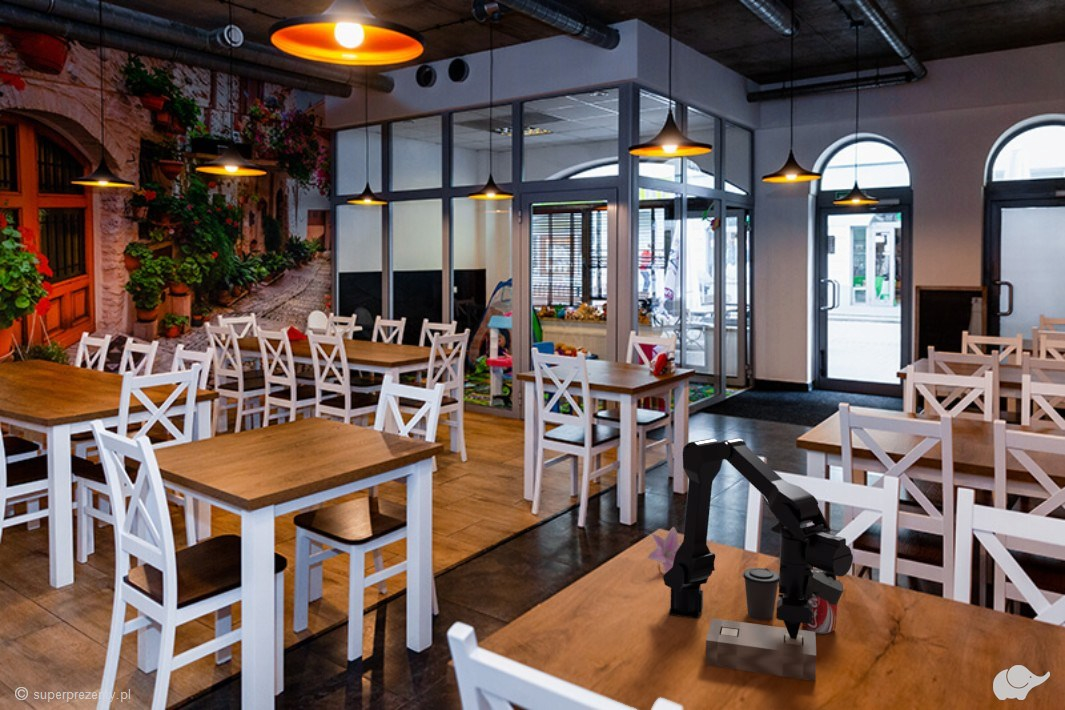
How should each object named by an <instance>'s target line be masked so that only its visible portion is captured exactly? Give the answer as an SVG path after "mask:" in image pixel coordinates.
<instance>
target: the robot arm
mask: <svg viewBox="0 0 1065 710" xmlns="http://www.w3.org/2000/svg"><path fill="white" fill-rule="evenodd" d="M724 460H725V461H727V462H728V463H729V464H730V465H731V466H732V467H733V468H734V469H735V470H736V471H737V473H739V474H741V476H742V477H743V478H745V480H747V482H749V483H750V484H751V485H752V486H753V487H754V488H755V489H756V490H757V491H758V492H759V493H760V494H761V496H763V497H764V498H765V499H766V501H767V503H768V504H767V505H768V507H769V511H770V512H771V513H772V514H773V516H774V517H775V518H776V519H777V521H778V522H777V523H776V524H774V526H772V527H771V528H770V530H771V532H774V533H775V534H780V547H779V549H780V550H779V551H780V552H779V573H778V574H779V582H778V596H777V599H778V600H777V602H776V617H775V618H776V619H777V620H779V621H783V624H784V626H785V628H787V631H788V633H789V636H790V638H792V639H796V638H797V635H798V631H799V630H800V627H801V624H802V623H807V624H810V623H812V616H813V610H812V605H811V598H813V594H814V595H815V596H817V597H819V598H822V599H824V600H826V601H828V602H829V603H830V604H833V605H837V606H838V604H839V601H840V599H841V597H842V594H843V593H844V584H843V583H842V582H841V579H837V577H839V578H840V577H845V576H846V575H847V574H848V573H849V571H850V569H851V568H852V565H853V561H854V560H853V559H854V555H853V553H852V550H851V548H850V546H849V545H847V539H846V538H845V537H842V536H836V535H832V534H829V533H830V532H831V527H830V526H829V524H828V521H827V519H826V518H825V516H824V515H823V512H822V510H821V509H820V507H819V501H818V500H817V498H816V497H815V496H814V495H813V494H811V493H810V492H808V491H807V490H806V489H804V488H802V487H800V486H798V485H796V484H793V483H791V482H788V481H786V480H785V479H783V478H782V477H781V476H780V475H779V474H778V473H777V472H775V470H774V469H772V468H771V467H770V466H769V464H767V463H766V462H764V461H763V460H762V459H761V457H759V456H758V455H757V454H756V453H755V452H754V451H752V450H751V448H749V446H747V443H746V442H745V441H744V440H743V439H742V438H739V437H738V438H737V437H736V438H731V439H726V440H725V439H724V440H722V441H718V440H717V439H715V438H707V439H702V440H695V441H690V442H688V443H686V445H684V446H683V449H682V468H683V470H684V472H685V474H686V477H687V478H688V487H687V499H686V506H685V507H686V510H685V511H686V512H685V519H684V520H685V521H684V531H683V539H682V542H681V544H680V545H681V546H680V547H679V549H678V550H677V552H676V554H675V558H674V562H673V567H672V568H671V569H670V570H669V571H668V572H666V573H665V572H664V574H663V576H662V578H663V582H664V586H666V587H668V588H670V608H669V611H668V614H669V615H670V614H673V615H672V616H678V615H679V617H685V616H686V617H687V618H694V619H698V618H700V614H701V613H702V612H703V609H704V590H703V589H702V586H701V585H703V584H707V582H708V580H709V578H710V577H711V576H712V573H713V572H714V571H715V570H716V569H715V568H716V567H715V562H716V561H715V559H716V554H715V552H714V553H713V552H711V550H710V548H709V546H708V543H707V540H708V531H709V530H708V529H709V521H710V509H711V501H712V500H711V498H712V492H713V491H712V489H713V482H714V480H715V478H717V475H718V474H719V472H720V471H721V469H722V465H723V461H724ZM810 523H812V525H808V526H805V527H802V526H803V525H807V524H810ZM813 569H820V570H823V572H820V571H819V572H816V571H814V570H813ZM804 596H805V597H804Z"/></svg>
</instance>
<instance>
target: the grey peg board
mask: <svg viewBox="0 0 1065 710" xmlns="http://www.w3.org/2000/svg"><path fill="white" fill-rule="evenodd" d="M722 628H729V629H737V630H738V637H735V636H727V635H721V632H722ZM786 634H789V633H788V631H787V628H786V627H782V626H781V627H780V626H772V625H764V624H758V623H750V622H744V621H743V622H742V621H735V620H727V619H721V618H712V617H711V619H710V623H709V627H708V631H707V635H706V639H705V666H706V665H707V666H710V667H711V666H712V667H716V668H717V667H718V668H726V669H732V670H738V671H744V672H750V673H752V672H753V673H758V674H765V675H772V676H778V677H786V678H790V679H797V680H804V681H805V680H806V681H812V682H816V679H817V678H816V677H817V669H816V668H817V643H816V642H817V641H816V640H817V639H816V633H815V632H812V631H809V630H803V629H799V631H798V635H801V636H802V646H800V645H793V644H786V643H785V638H786Z"/></svg>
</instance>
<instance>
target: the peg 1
mask: <svg viewBox="0 0 1065 710" xmlns="http://www.w3.org/2000/svg"><path fill="white" fill-rule="evenodd" d="M721 635H727V636H735V637H738V630H737V629H729V628H722V632H721Z"/></svg>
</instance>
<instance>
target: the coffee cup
mask: <svg viewBox="0 0 1065 710" xmlns="http://www.w3.org/2000/svg"><path fill="white" fill-rule="evenodd" d="M742 577H743V579H744V585H745V586H744V587H745V597H746V598H745V599H746V608H747V614H748V617H750V618H751V619H754V620H757V621H770V620H771V619H773V618H774V612H775V606H776V600H777V592H778V588H779V573H778V572H777V571H775V570H772V569H769V568H763V567H752V568H748V569H745V570H744V572H742Z"/></svg>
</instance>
